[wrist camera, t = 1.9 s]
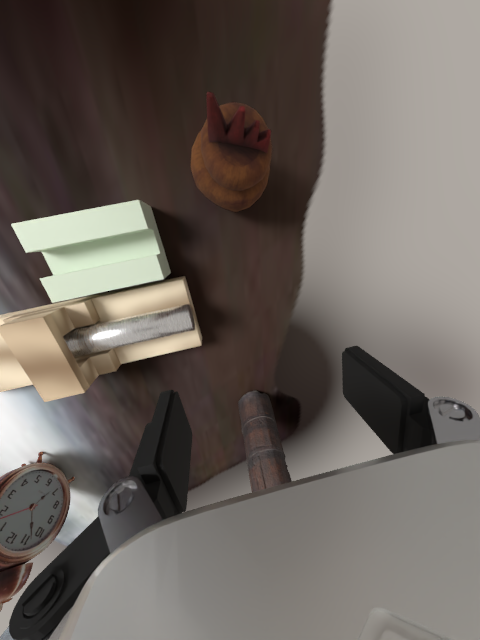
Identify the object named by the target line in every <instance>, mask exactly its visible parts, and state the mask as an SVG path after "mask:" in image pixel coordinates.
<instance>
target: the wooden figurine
mask: <svg viewBox="0 0 480 640" xmlns="http://www.w3.org/2000/svg"><path fill="white" fill-rule="evenodd" d="M270 136H271V130H269V129H268V128H267V126H266V124H265V122H264V120H263V118H262V117H261V116H260V115H259V113H258V112H257V111H256V110H255V109H253V108H251V107H249V106H247V105H246V104H242V103H236V102H231V103H227V104H223V105H220V106H219V105H218V102H217V100H216V98H215V95H214V94H213V93H211V92H207V119H206V121H205V124H204V126H203V128H202V130H201V131H200V132H199V134H198V135H197V137H196V140H195V142H194V144H193V147H192V150H191V171H192V174H193V178H194V181H195V184H196V187H197V188H198V189H199V190H200V191H201V192H202V193H203V194H204V195H205V197H206V198H208V199H209V200H211V201H212V202H213V203H215V204H216V205H218V206H220V207H222V208H224V209H227V210H230V211H234V212H238V211H241V210H244V209H247V208H249V207H250V206H251V205H252V204H254V203H255V202H256V201H257V200H258V199H259V198H260V197H261V195H262V194H263V192H264V190H265V188H266V186H267V183H268V178H269V172H270V163H271V156H272V144H271V138H270Z"/></svg>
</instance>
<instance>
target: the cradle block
mask: <svg viewBox="0 0 480 640" xmlns="http://www.w3.org/2000/svg"><path fill="white" fill-rule="evenodd" d="M11 225H12V227H13V229H14V231H15V233H16V235H17V237H18V238H19V240H20V242H21V244H22V246H23V248H24V250H25V252H26V253H27V252H40V251H42V253H43V255H44V257H45V259H46V261H47V263H48V265H49V267H50V269H51V271H52V273H53V276H49V277H45V278H41V279H40V280H41V282H42V284H43V286H44V288H45V290H46V292H47V294H48V295H49V297H50V299H51V301H52V303H54V302H58V301H63V300H68V299H73V298H77V297H82V296H87V295H92V294H96V293H101V292H106V291H110V290H115V289H120V288H125V287H129V286H134V285H139V284H143V283H148V282H153V281H158V280H162V279H165V278H166V277H167V276H168V275H169V274H170V273H171V271H170V268H169V264H168V261H167V258H166V255H165V251H164V248H163V245H162V241H161V238H160V235H159V231H158V228H157V225H156V222H155V218H154V215H153V212H152V208H151V206H149V205H147V204H145V203H144V202H142V201H140V200H135V201H130V202H124V203H119V204H114V205H109V206H103V207H98V208H93V209H88V210H82V211H77V212H72V213H67V214H61V215H56V216H51V217H45V218H40V219H35V220H30V221H24V222H19V223H14V224H11Z"/></svg>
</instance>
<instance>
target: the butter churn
mask: <svg viewBox="0 0 480 640" xmlns="http://www.w3.org/2000/svg"><path fill="white" fill-rule="evenodd" d="M238 403H239V412H240V418H241V424H242V433H243V436H244V443H245V451H246V457H247V464H248V470H249V477H250V483H251V489H252V492H256V491H260V490H263V489H267V488H270V487H274V486H278V485H281V484H285V483H289V482H292V481H291V478H290V474H289V472H288V470H287V465H286V462H285V454H284V452H283V448H282V444H281V440H280V437H279V433H278V430H277V426H276V421H275V418H274V413H273V409H272V405H271V401H270V398H269V396H268V395H267V394H265V393H263V394H262V393H259V392H258V391H252V392H249V393H247V394H245V395H244V396H243V397H242V398H241V399H240V400H239V402H238Z"/></svg>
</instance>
